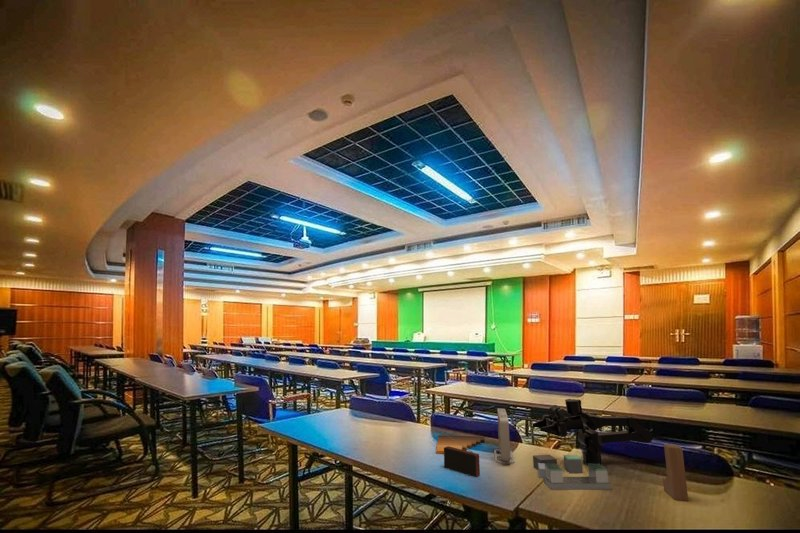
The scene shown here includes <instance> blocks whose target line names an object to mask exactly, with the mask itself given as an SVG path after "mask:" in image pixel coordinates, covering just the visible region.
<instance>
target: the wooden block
mask: <svg viewBox="0 0 800 533" xmlns="http://www.w3.org/2000/svg"><path fill="white" fill-rule="evenodd" d="M663 447H664V458H665V467H666V477H662V484H663V485H662V486H663V490H664V492H666V493H667V494H668V495H669V496H670V497H671V498H672V499H673V500H674V501H683V502H684V501H685V502H687V501H689V496H688V487H687V478H686V470H685V469H686V468H685V460H684V452H683V447H681V446H679V445H678V444H674V443H664V444H663Z"/></svg>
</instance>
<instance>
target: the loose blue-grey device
mask: <svg viewBox="0 0 800 533" xmlns="http://www.w3.org/2000/svg"><path fill="white" fill-rule="evenodd" d="M537 471H538V475H539V479H540V478H543V479H542V480H544V477H545V463H538V470H537Z"/></svg>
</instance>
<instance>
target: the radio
mask: <svg viewBox="0 0 800 533" xmlns="http://www.w3.org/2000/svg"><path fill="white" fill-rule="evenodd" d="M440 432H441V433H442V434H444V435H447V436H448V434H446V433H444V432H443V431H442V430H440ZM448 437H449V436H448ZM450 438H451V437H450ZM451 439H452V438H451ZM453 440H454V439H453ZM454 441H455V440H454ZM456 442H457V441H456ZM457 443H458V442H457ZM459 444H460V443H459ZM460 445H461V444H460ZM462 446H463V445H462ZM463 447H464V446H463ZM465 448H466V447H465ZM466 449H467V450H461V449H457V448H453V447H449V446H447V447H445V448H444V454H443V468H444V469H447V470H451V471H454V472H458V473H460V474H464V475H467V476H471V477H475V478H477V477H479V476H480V475H481V474H480V473H481V470H480V469H481V468H480V454H479V453H476V452H473V451H472V450H470V448H466Z"/></svg>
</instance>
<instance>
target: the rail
mask: <svg viewBox="0 0 800 533" xmlns="http://www.w3.org/2000/svg"><path fill="white" fill-rule="evenodd" d="M587 467H588V469H587V470H588V476H563V468H561V466H560V465H558V463H557V464H545V477H544V479H543V483H544V484H545V485H546V487H549V489H550V490H612V489H611V483H610V482H609V475H608V474H609V473H608V469H607V468H606V467H605V466H602V465H601V464H588V466H587Z"/></svg>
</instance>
